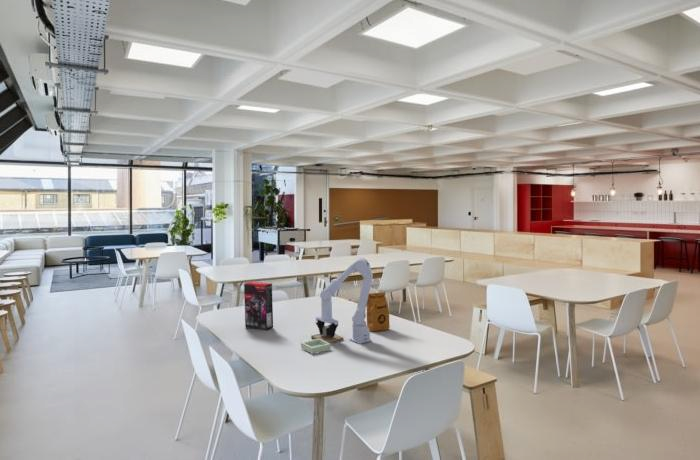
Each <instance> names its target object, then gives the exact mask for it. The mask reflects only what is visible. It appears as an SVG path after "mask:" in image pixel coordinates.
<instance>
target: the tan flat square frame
mask: <svg viewBox="0 0 700 460" xmlns="http://www.w3.org/2000/svg"><path fill="white" fill-rule="evenodd" d="M310 338H311V340H315V339H322V340H324V341H326V342H328V343H330V344H334V343H338V341H339V342H342V340H343V341H344V336H341V335H338V334H336V333H335V335H334V337H330V338H324V337H323V335H320V333H317V334H311V337H310Z"/></svg>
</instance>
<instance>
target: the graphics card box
mask: <svg viewBox="0 0 700 460" xmlns="http://www.w3.org/2000/svg"><path fill="white" fill-rule="evenodd" d="M243 287H244V288H243V289H244V290H243V292H244V320H245V321H244V322H245V323H244V324H245V325H244V328H248V329H249V328H250V329H254V330H255V329H256V330H263V331H268V330H270V329H273V328H274V313H273V312H274V311H273V310H274V309H273V307H274V306H273V283H272V282H271V283H270V282H269V283H268V282H258V281H247V282H244V283H243Z"/></svg>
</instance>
